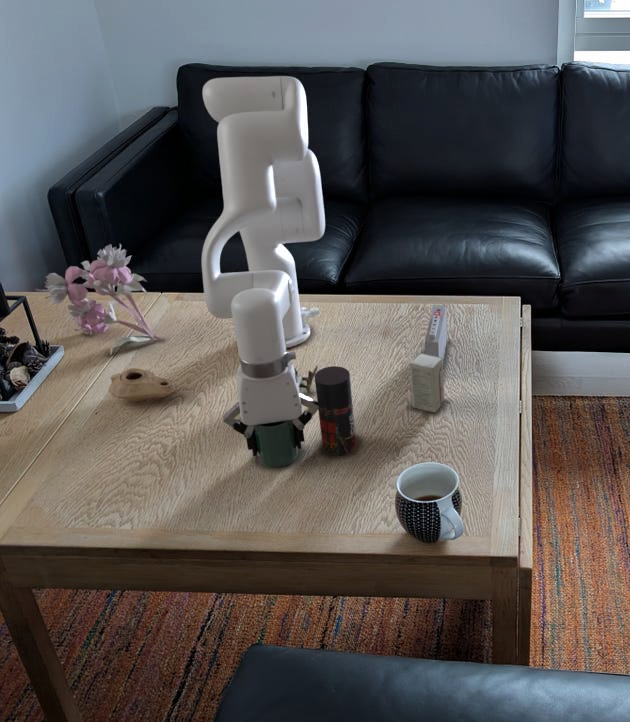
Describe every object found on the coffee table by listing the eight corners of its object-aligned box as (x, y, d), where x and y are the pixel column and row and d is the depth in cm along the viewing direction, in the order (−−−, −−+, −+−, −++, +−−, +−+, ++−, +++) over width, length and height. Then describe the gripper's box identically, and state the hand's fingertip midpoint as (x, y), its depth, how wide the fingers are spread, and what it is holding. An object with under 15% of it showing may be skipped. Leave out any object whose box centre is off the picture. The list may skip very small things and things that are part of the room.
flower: (171, 297, 195) (98, 213, 180) (195, 329, 177) (116, 238, 163) (99, 350, 191) (18, 269, 176) (116, 388, 173) (28, 301, 158)
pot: (281, 439, 151) (276, 400, 147) (305, 454, 147) (300, 415, 143) (250, 456, 147) (243, 417, 142) (274, 472, 143) (268, 433, 138)
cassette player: (434, 341, 181) (433, 300, 176) (446, 342, 181) (446, 301, 176) (425, 380, 168) (424, 337, 163) (439, 380, 168) (438, 337, 163)
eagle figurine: (321, 373, 168) (279, 361, 168) (316, 359, 161) (272, 346, 162) (307, 407, 165) (264, 395, 165) (301, 394, 158) (257, 381, 159)
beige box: (445, 401, 162) (444, 357, 156) (434, 413, 158) (433, 368, 153) (421, 395, 163) (420, 351, 158) (410, 407, 160) (409, 362, 155)
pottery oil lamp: (166, 411, 157) (140, 388, 153) (122, 416, 163) (96, 394, 158) (185, 375, 163) (161, 352, 158) (143, 381, 168) (118, 359, 164)
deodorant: (324, 436, 152) (315, 366, 144) (356, 434, 152) (350, 365, 144) (321, 456, 147) (313, 385, 139) (355, 454, 147) (348, 384, 139)
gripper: (314, 344, 142) (324, 428, 151) (209, 357, 138) (225, 443, 147) (319, 366, 136) (329, 453, 145) (209, 381, 132) (226, 469, 141)
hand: (277, 447), depth 146 cm, fingers closed on pot, 7 cm apart
